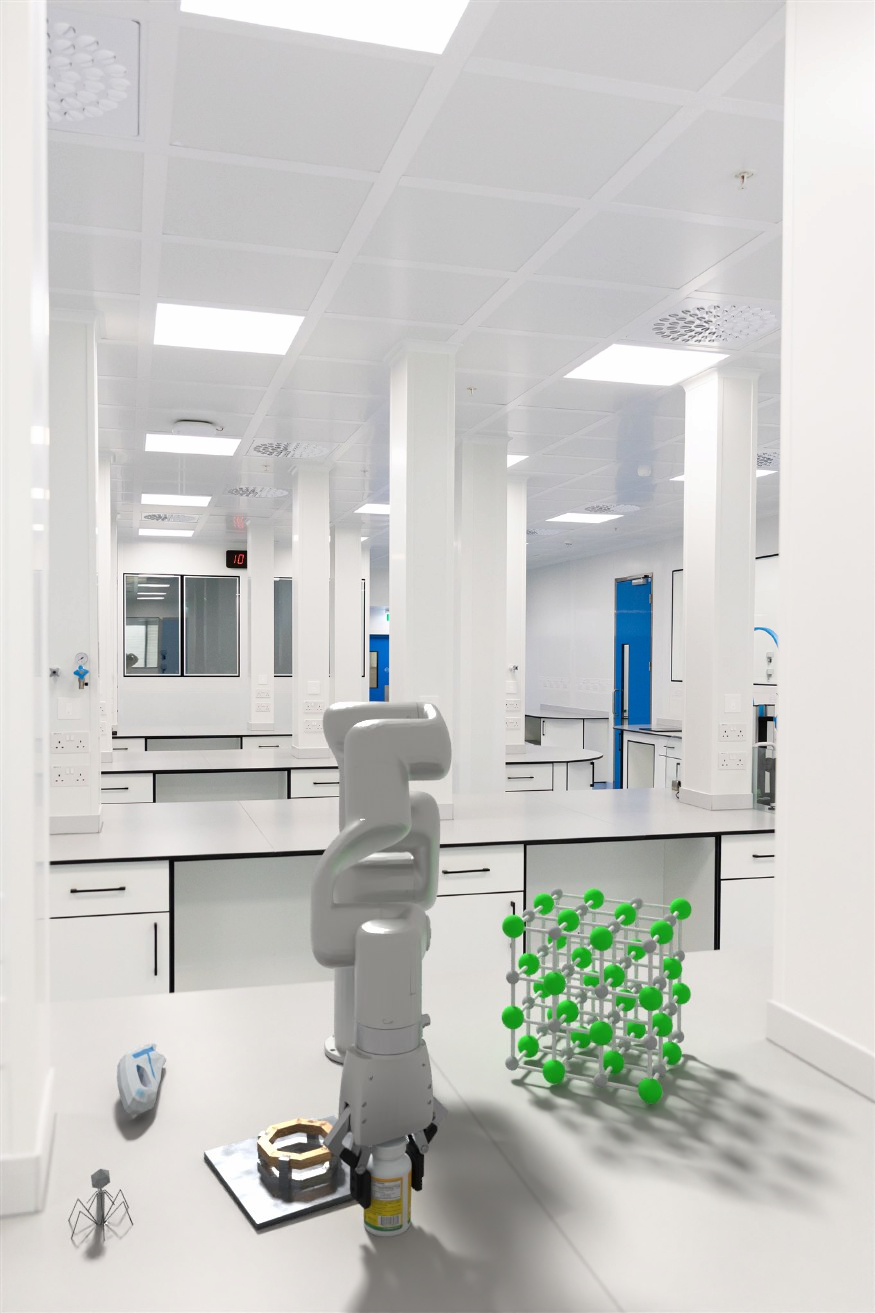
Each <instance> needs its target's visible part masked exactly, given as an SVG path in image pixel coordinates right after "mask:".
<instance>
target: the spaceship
mask: <svg viewBox="0 0 875 1313" xmlns="http://www.w3.org/2000/svg"><path fill="white" fill-rule="evenodd" d="M166 1062H167V1058H166V1056H165V1055H164V1054H162V1053H159V1052H158V1051H157V1044H156V1043H147V1044H144V1045H140V1046H137V1047H134V1048H132V1049H130V1050H129V1051H127V1052H126V1053H125V1054H124V1055H123V1056H122V1057H121V1058H120V1059H119V1062H118V1064H117V1069H116V1081H117V1082H116V1083H117V1089H118V1093H119V1097H120V1099H121V1100H120V1101H121V1103H122V1106H123V1109H124V1110H125V1112H126V1113H128V1114H129V1115H134V1116H137V1115H141V1114H143V1113H145V1112H147V1111H149V1110H151V1109H153V1108H154V1107H155V1103H156V1101H157V1092H158V1089H159V1087H160V1082H161V1077H162V1069H163V1067H164V1065H165V1063H166Z"/></svg>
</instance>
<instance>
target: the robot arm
mask: <svg viewBox="0 0 875 1313" xmlns="http://www.w3.org/2000/svg"><path fill="white" fill-rule="evenodd" d="M322 730H323V734H324V737H325V740H326V743H327V745H328V746H329V749H330V750H331V753H332V755H333V756H334V758H335V761H336V763H337V768H338V773H339V777H338V778H339V781H338V782H339V783H338V784H339V785H338V786H339V788H338V829H339V834H338V835H337V836H336V837H335V838H334V839H333V840H332V841H331V842H330V843H329V845H328V847H326V849H325V850H324V852H323V854H322V855H321V857H320V858H319V861H318V862H317V865H316V867H315V870H314V873H313V877H312V882H311V888H310V926H309V927H310V930H309V931H310V947H311V952H312V955H313V957H314V959H315V961H316V962H317V963H318V965H320V966H321V967H323V968H326V969H332V970H333V972H334V973H333V977H334V978H333V979H334V980H333V982H334V983H333V986H334V987H333V988H334V989H333V1034H332V1035H330V1036H329V1037H327V1039H325V1041H324V1044H323V1047H324V1049H323V1050H324V1054H325V1056H327V1057H328V1058H329V1059H330V1060H332V1061H334V1062H337V1063H340V1064H343V1067H342V1072H341V1080H340V1088H339V1097H338V1098H339V1100H338V1101H339V1102H338V1117H337V1119H338V1120H337V1122H336V1123H335V1125H334V1126H333V1127H332V1129H331V1130H330V1132H329V1133H328V1135H327V1136H326V1137H325V1139H324V1141H323V1145H324V1146H325V1147H326V1148H327V1149H328V1150H329V1151H330V1152H332V1153H333V1154H334V1155H336V1156H337V1157H339V1158H340V1159H341V1160H342V1161H343V1162H345V1163H346V1164H347V1165H348V1166H350V1193H351V1196H352V1198H353V1199H355V1200H354V1201H356V1202H357V1203H358V1205H359V1206H360V1207H361V1208H362V1209H363V1210H364V1209H367V1208H369V1207H370V1206H371V1173H370V1171H368V1170H367V1169H366V1168H367V1164H368V1161H369V1158H370V1155H371V1152H372V1149H373V1145H376V1144H380V1143H383V1142H387V1141H390V1140H393V1139H397V1138H400V1137H403V1136H405V1138H406V1141H407V1143H406V1151H405V1153H406V1154H407V1155H408V1156H409V1158H410V1160H411V1166H412V1172H411V1189H413V1190H414V1191H415V1192H420V1191H422V1190H423V1178H424V1176H425V1155H426V1154H427V1153H428V1152H429V1150H430V1146H429V1144H430V1143H431V1142H432V1140H433V1138H434V1137H435V1136H436V1134H437V1133H438V1130H439V1129H438V1128H439V1127H441V1125H442V1123H443V1122H444V1121H445V1119H446V1118H447V1117H448V1115H449V1110H448V1109H447V1107H445V1106H444V1105H443V1104H442V1103H441V1102H440V1101H439V1100H438V1099H437V1098H436V1097H435V1096H434V1089H433V1088H434V1086H433V1076H432V1067H431V1060H430V1055H429V1051H428V1045H427V1042H426V1040H425V1039H424V1038H423V1037H424V1028H425V1027H429V1026H431V1017H430V1015H429V1014H428V1013H422V1012H423V1010H422V1008H423V1004H422V1003H423V1002H422V1000H423V998H422V997H423V996H422V995H423V994H422V993H423V992H422V991H423V988H422V987H423V959H424V958H425V955H426V953H427V952H428V951H429V950H430V947H431V939H432V928H431V919H430V917H429V915H428V914H426V912H427V911H429V910H430V909H432V908H433V907H434V906H435V904H436V901H437V897H438V890H439V873H440V870H439V869H440V851H441V850H440V849H441V848H440V847H441V846H440V845H441V816H440V809H439V806H438V803H437V800H436V799H435V797H434V796H433V795H431V794H429V793H428V792H425V791H419V790H410V781H411V782H413V781H418V782H419V781H422V782H426V781H440V780H443V779H445V777H446V776H448V774H449V773H450V768H451V765H452V760H453V759H452V754H453V753H452V752H453V751H452V750H453V749H452V742H451V741H452V740H451V737H450V732H449V729H448V726H447V723H446V721H445V719H444V717H443V716H442V713H441V712H440V709H439V708H438V707H437V706H436V705H435V704H433V703H431V702H426V701H375V700H374V701H371V700H370V701H366V700H365V701H342V702H336V703H333V704H330V705H329V706H328V707H327V708H326V709H325V710H324V712H323V717H322ZM347 1133H352V1134H353V1135H352V1139H351V1142H350V1145H349V1148H347V1147H346V1146H344V1145H343V1144H342V1141H343V1139H344V1138H345V1136H346V1135H347Z"/></svg>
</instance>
